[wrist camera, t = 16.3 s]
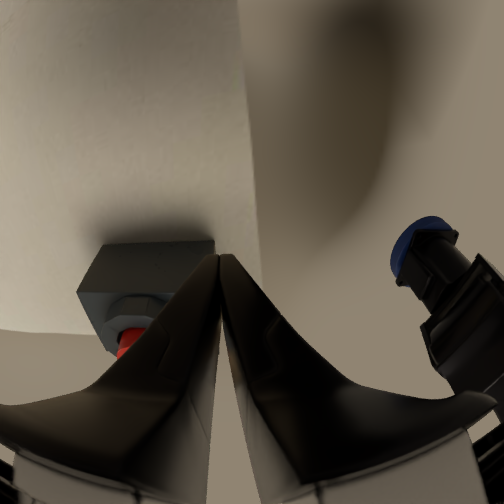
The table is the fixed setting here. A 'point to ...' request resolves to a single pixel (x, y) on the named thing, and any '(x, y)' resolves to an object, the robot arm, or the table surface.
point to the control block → (135, 284)
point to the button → (128, 339)
